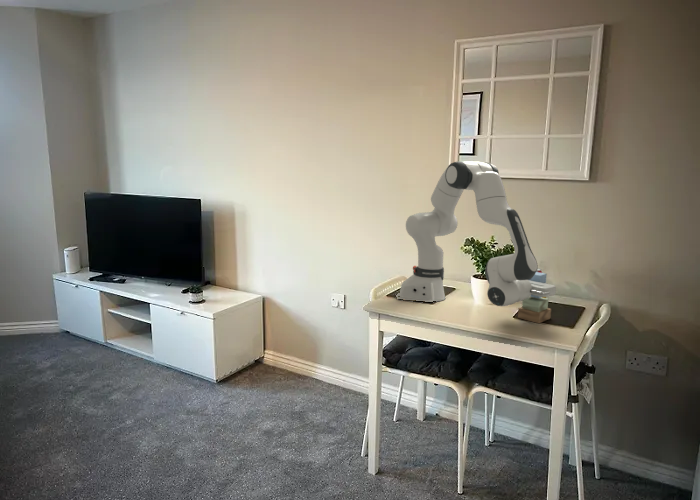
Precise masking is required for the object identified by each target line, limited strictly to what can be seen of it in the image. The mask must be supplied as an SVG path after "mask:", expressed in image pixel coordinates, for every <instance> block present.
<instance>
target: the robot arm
mask: <svg viewBox="0 0 700 500" xmlns="http://www.w3.org/2000/svg"><path fill="white" fill-rule="evenodd" d="M464 190H468V191H469V190H471V191H473V192H474V195H475V196H474V197H475V203H476V205H475V206H476V210H477V214H478V217H479V218H480V219H481V220H482V221H484V222H485V223H487V224H491V225H495V226H501V227H504V228H505V229H506V230H507V231H508V234H509V236H510V239H511V240H510V241H511V242H512V245H513V248H514V253H511V254H505V255H500V256H496V257H490V259H488V261H487V262H486V266H485V269H484V270H485V271H484V272H485V273H484V274H485V278H486V281H487V282H488V288H487V293H486V295H487V298H488V300H489V302H491V303H492V304H493V305H495V306H497V307H507V306H511V305H513V304H516V303H519V302H520V303H521V302H523V300H526V299H528V298H529V297H530V296H531V295H535V296H540V297H546V298H548V297H552V296H556V293H557V286H556V285H554V284H551V283H548V282H546V283H545V282H543V283H540V282H535V281H530V279H531V278H532V277H533V276H534V275H535V273H536V271H537V269H538V268H539V267H538V266H539V265H538V262H537V259H536V256H535V255H534V253H533V250H532V249H531V246H530V243H529V240H528V238H527V234H526V230H525V228H524V225H523V223H522V222H523V221H522V219H521V218H520V215H519V213H518V212H517V211H516V210H515V209H513V208H512V207H511V206H510V205H509V203H508V200H507V199H508V198H507V193H506V189H505V186H504V183H503V180H502V177H501V176H500V174H499V169H498V167H497V166H496V165H495V164H492V163H489V162H482V161H475V160H473V161H471V160H470V161H459V160H458V161H454V162H452V163H450V164H449V165H448V166H447V167H446V169H445V170H444V171H443V173H442V174H441V176H440V178H439V180H438V182H437V184H436V186H435V187H434V190H433V193H432V194H431V196H430V202H431V204H432V206H433V208H434V209H433V210H432V211H427V212H418V213H414V214H411V215H409V216H408V217H407V220H406V221H405V230H406V232H407V234H408V235H409V236H410V237H411V238H412V239H413V241H414V242H415V245H416V247H417V255H418V256H417V260H418V261H417V265H413V266H412V270H413V272H412V275H410V276H409V277H408V278H406V279H404V281H403V282H402V283H401V285H400V290H399V291H400V293H398V294H397V295H396V294H395V295H396V297H397V298H398V299H405V300H416V301H425V302H433V301H436V302H441V301H443V300H445V299H446V295H445V289H444V279H445V278H444V277H445V269H444V251H443V247H440V245H438V244H437V243H436V237H441V236H442V237H443V236H447V235H451V234H453V233H454V232H456V230H457V228H458V224H459V223H458V218H457V216H456V215H455V209H456V208H457V207H456V206H457V204H458V202H459V200H460V198H461V196H462V195H463V192H464ZM398 296H400V297H398ZM396 297H395V298H396ZM398 299H397V300H398ZM433 303H434V302H433Z"/></svg>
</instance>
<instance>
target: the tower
mask: <svg viewBox="0 0 700 500" xmlns="http://www.w3.org/2000/svg"><path fill="white" fill-rule="evenodd" d="M521 302H522V303H521V304H522V305H521V307H518V309H517V318H518V319H521V320H525V321H528V322H533V323H536V324H540V323H543V322H546V321H547V320H548V321H549V320H550V319H551V316H552V315H551V314H552V308H549V306H548V305H549V298H547V297H546V298H542V297H541V298H535V297H529V298H528V299H526V300H523V301H521Z"/></svg>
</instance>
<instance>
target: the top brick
mask: <svg viewBox="0 0 700 500" xmlns="http://www.w3.org/2000/svg"><path fill="white" fill-rule="evenodd" d="M530 281H535V282H540V283H543V282H545V283H547V273H544V272H542V273H540V272H536V273H535V275H534V276H533V277H532V278H531V279H530ZM530 297H535V298H541V297H540V296H535V295H531V296H530Z"/></svg>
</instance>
